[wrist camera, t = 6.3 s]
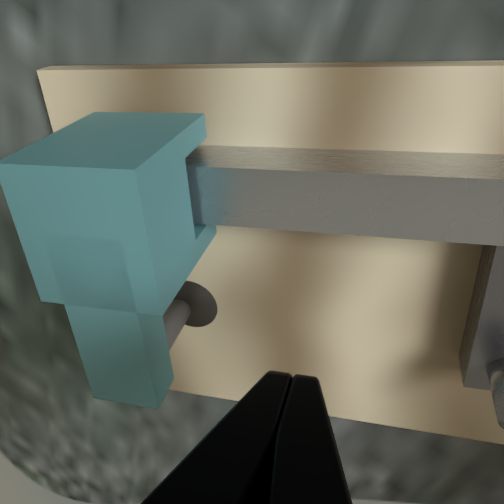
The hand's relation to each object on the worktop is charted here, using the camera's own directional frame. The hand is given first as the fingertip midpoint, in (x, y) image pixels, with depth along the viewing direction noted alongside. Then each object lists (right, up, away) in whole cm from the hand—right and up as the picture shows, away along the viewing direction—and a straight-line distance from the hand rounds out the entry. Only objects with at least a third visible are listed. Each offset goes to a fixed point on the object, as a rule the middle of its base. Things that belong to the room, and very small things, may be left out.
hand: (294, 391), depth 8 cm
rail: (+1, +5, +9) cm, 10 cm away
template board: (+2, +2, +11) cm, 11 cm away
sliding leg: (-4, +3, +10) cm, 11 cm away
